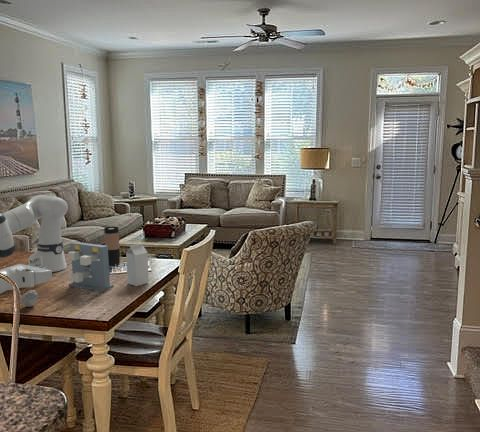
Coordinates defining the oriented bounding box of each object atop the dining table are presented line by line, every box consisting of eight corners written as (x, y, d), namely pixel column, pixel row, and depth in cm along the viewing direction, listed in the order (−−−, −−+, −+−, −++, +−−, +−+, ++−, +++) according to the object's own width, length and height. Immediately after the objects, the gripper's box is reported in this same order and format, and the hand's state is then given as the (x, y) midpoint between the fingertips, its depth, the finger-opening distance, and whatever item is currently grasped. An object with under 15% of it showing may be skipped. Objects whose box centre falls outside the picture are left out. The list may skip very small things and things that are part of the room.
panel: (69, 285, 222) (66, 244, 218) (81, 281, 229) (79, 240, 225) (101, 291, 213) (99, 248, 209) (113, 286, 220) (111, 244, 216)
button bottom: (72, 281, 212) (71, 273, 212) (88, 275, 221) (88, 268, 221) (78, 282, 211) (77, 274, 210) (94, 276, 220) (94, 269, 219)
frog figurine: (32, 309, 191) (31, 293, 190) (18, 308, 193) (16, 291, 192) (42, 304, 197) (41, 288, 195) (28, 303, 199) (27, 287, 197)
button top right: (80, 264, 208) (79, 256, 208) (96, 259, 217) (96, 251, 217) (86, 265, 207) (85, 257, 206) (102, 260, 216) (102, 252, 215)
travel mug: (103, 263, 260) (101, 227, 256) (116, 261, 265) (114, 226, 261) (109, 266, 254) (107, 229, 251) (122, 263, 259) (121, 228, 256)
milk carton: (148, 283, 225) (147, 244, 222) (136, 286, 220) (134, 246, 216) (139, 280, 229) (138, 242, 226) (127, 283, 224) (125, 244, 221)
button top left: (68, 259, 217) (68, 252, 216) (84, 254, 226) (84, 247, 225) (74, 260, 215) (74, 253, 215) (90, 255, 224) (90, 248, 223)
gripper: (0, 280, 191) (29, 272, 203) (34, 288, 181) (63, 278, 193) (-2, 265, 190) (28, 257, 202) (32, 272, 180) (62, 263, 192)
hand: (45, 268), depth 197 cm, fingers closed
